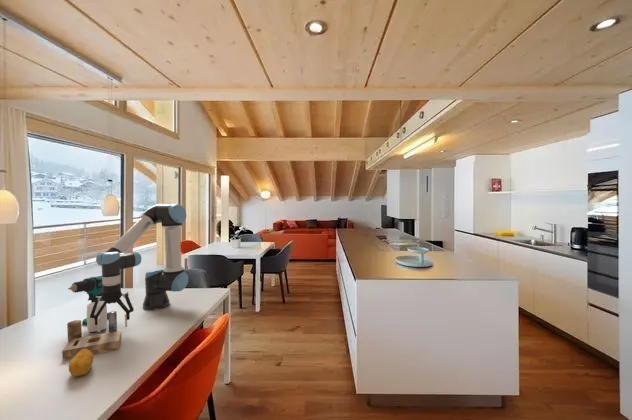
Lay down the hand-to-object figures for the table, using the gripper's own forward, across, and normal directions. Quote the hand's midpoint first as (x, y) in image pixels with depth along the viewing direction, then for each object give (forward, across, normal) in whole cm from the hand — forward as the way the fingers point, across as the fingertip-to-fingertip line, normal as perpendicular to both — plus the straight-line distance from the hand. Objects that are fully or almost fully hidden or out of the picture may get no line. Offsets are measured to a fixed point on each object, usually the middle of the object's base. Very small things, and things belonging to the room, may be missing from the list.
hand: (112, 328), depth 151 cm
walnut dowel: (+4, +15, 0) cm, 16 cm away
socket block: (+4, +6, +11) cm, 13 cm away
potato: (+4, +7, +32) cm, 33 cm away
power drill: (+4, +12, -27) cm, 30 cm away
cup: (+4, +8, -12) cm, 15 cm away
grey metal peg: (+4, 0, 0) cm, 4 cm away
